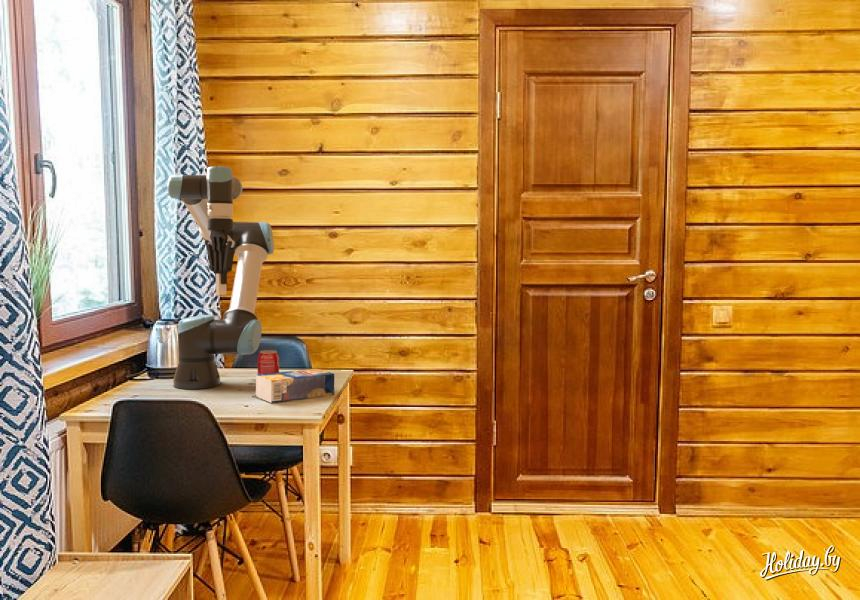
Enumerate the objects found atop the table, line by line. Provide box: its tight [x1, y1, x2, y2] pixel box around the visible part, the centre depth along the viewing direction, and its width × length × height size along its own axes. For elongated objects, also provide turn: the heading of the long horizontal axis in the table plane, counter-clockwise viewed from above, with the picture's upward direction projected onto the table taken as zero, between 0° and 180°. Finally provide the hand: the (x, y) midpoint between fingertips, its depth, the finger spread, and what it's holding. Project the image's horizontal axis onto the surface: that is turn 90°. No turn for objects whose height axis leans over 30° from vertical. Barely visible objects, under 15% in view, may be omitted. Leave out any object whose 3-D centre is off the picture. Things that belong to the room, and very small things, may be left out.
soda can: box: [257, 349, 280, 375], centre depth 249 cm, size 7×7×12 cm
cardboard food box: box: [255, 368, 335, 404], centre depth 236 cm, size 7×11×22 cm
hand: (221, 294), depth 230 cm, fingers closed
